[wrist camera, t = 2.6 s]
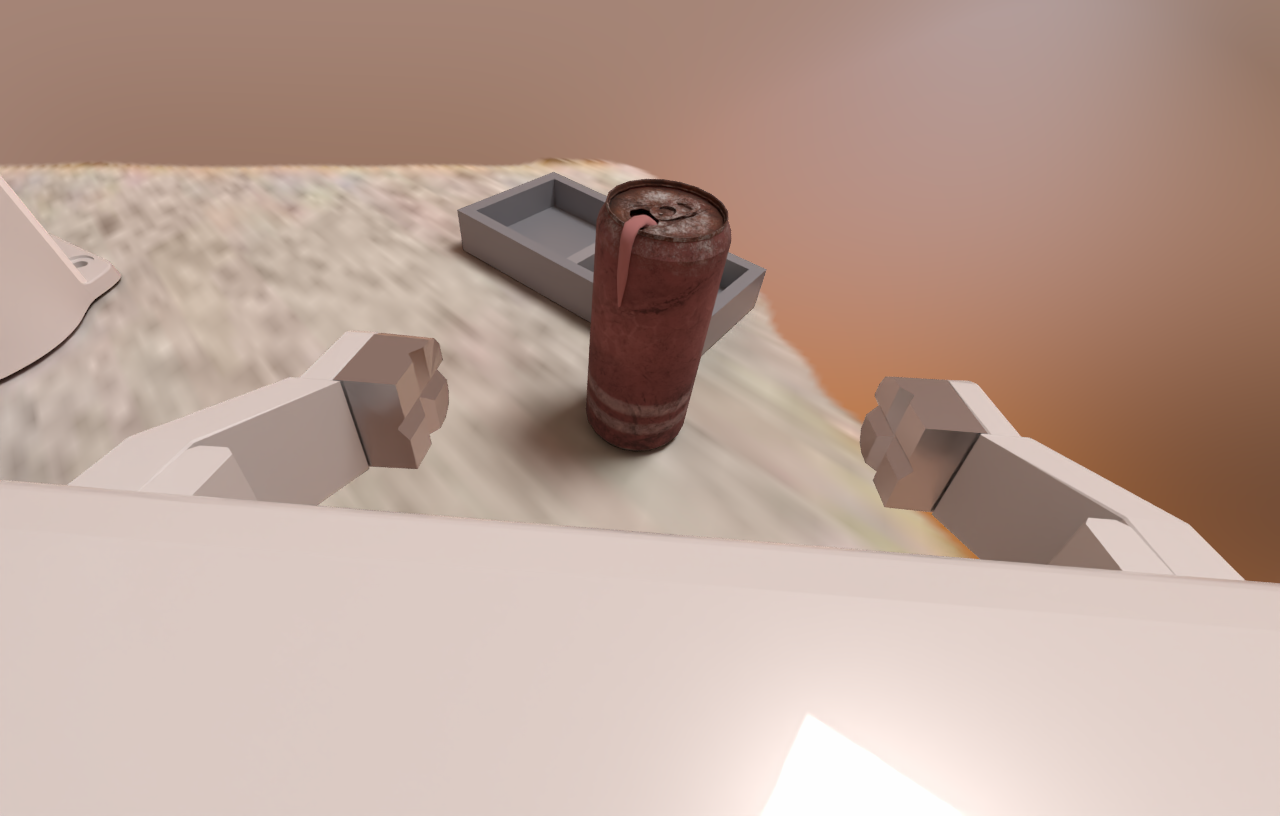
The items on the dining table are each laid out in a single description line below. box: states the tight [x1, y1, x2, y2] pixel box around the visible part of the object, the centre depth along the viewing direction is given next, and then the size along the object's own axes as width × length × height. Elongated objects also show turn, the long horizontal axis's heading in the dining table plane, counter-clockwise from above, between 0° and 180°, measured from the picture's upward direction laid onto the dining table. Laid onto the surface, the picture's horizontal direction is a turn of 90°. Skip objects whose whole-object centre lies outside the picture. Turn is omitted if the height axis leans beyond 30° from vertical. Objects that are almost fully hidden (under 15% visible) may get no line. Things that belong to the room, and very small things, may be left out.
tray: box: [458, 172, 766, 356], centre depth 42 cm, size 22×11×4 cm, turn 54°
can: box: [586, 179, 731, 451], centre depth 28 cm, size 6×6×14 cm
